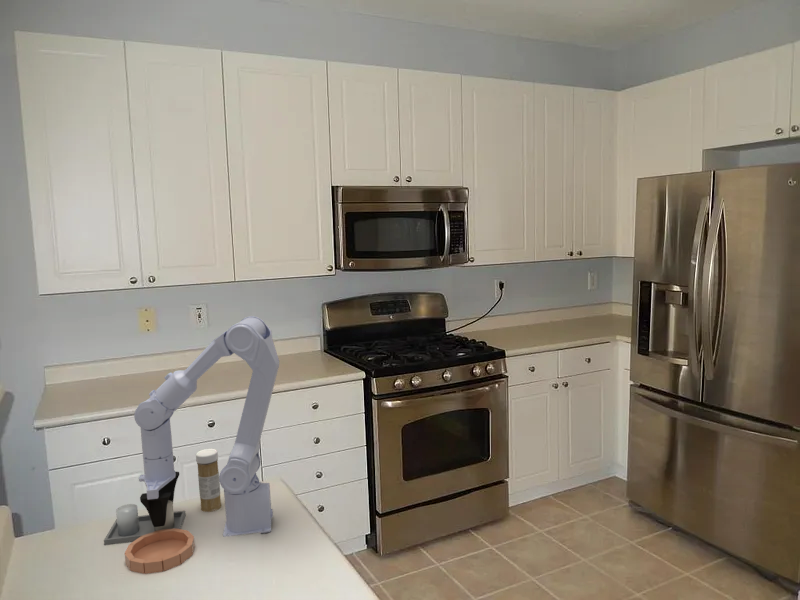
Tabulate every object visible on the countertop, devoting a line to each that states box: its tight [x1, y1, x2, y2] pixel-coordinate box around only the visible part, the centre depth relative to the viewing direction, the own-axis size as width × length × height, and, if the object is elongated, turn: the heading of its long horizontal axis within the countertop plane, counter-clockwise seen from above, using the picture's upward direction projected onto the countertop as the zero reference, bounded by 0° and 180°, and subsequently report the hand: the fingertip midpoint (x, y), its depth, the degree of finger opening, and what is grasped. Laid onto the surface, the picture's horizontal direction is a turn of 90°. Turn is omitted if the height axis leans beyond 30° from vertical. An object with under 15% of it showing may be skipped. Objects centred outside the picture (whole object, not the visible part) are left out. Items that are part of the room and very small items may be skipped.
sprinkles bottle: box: [195, 448, 223, 513], centre depth 131 cm, size 5×5×14 cm
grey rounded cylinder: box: [115, 503, 139, 536], centre depth 122 cm, size 4×4×5 cm
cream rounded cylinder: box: [154, 500, 175, 531], centre depth 123 cm, size 4×4×5 cm
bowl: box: [124, 528, 196, 575], centre depth 113 cm, size 12×12×2 cm
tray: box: [103, 510, 187, 546], centre depth 123 cm, size 14×9×2 cm, turn 101°
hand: (163, 516), depth 123 cm, fingers open, 7 cm apart
